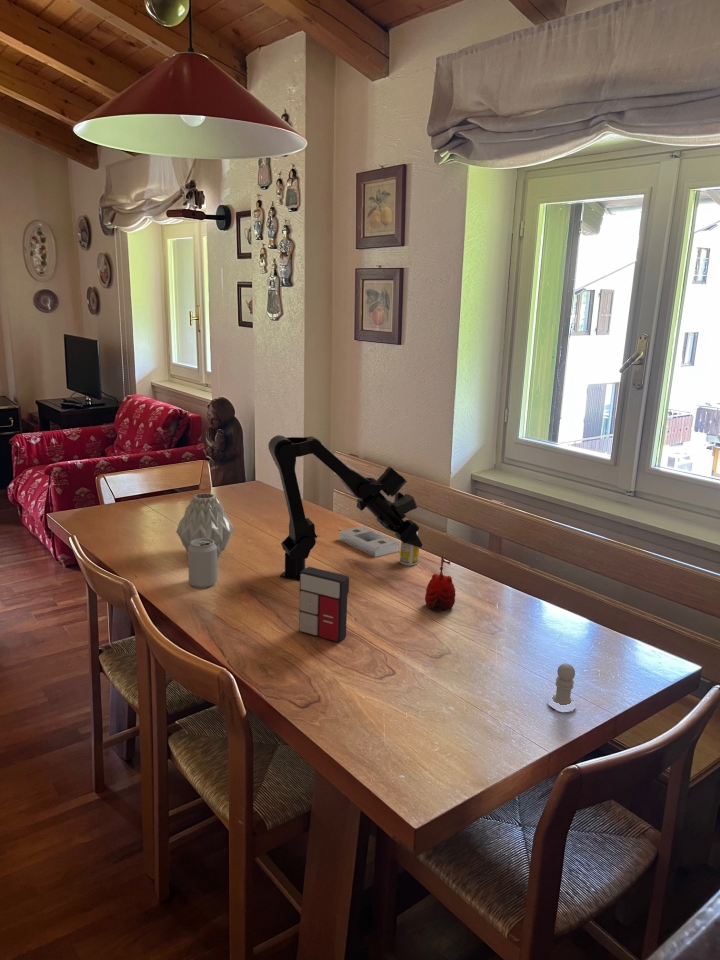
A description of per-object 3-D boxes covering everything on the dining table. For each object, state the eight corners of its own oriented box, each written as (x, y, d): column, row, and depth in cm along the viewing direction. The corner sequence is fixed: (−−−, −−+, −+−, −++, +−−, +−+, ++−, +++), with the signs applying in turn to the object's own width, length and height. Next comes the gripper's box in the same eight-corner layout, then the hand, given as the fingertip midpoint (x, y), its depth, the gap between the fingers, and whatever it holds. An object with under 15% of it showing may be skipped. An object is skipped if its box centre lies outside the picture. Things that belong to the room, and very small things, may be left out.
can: (201, 591, 184) (200, 548, 181) (183, 584, 189) (181, 541, 186) (223, 583, 190) (222, 541, 187) (204, 576, 194) (203, 534, 191)
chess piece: (570, 698, 141) (575, 658, 139) (579, 714, 136) (584, 672, 133) (544, 698, 141) (548, 657, 138) (551, 714, 135) (556, 671, 133)
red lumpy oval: (456, 604, 182) (460, 549, 178) (452, 615, 176) (456, 558, 172) (426, 599, 184) (430, 545, 180) (421, 611, 178) (425, 554, 174)
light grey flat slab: (399, 551, 218) (399, 541, 217) (375, 557, 212) (375, 547, 212) (362, 534, 232) (362, 525, 231) (339, 540, 226) (339, 530, 225)
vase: (239, 548, 216) (239, 489, 211) (224, 568, 200) (223, 505, 196) (187, 544, 217) (186, 486, 213) (168, 564, 202) (166, 501, 197)
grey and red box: (297, 632, 164) (297, 572, 160) (306, 625, 168) (307, 566, 164) (338, 644, 159) (340, 582, 155) (347, 636, 163) (349, 576, 159)
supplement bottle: (401, 566, 206) (403, 534, 204) (398, 559, 212) (400, 528, 209) (419, 565, 207) (421, 534, 204) (416, 559, 212) (418, 528, 210)
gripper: (414, 496, 193) (447, 531, 200) (388, 479, 210) (419, 511, 217) (386, 525, 193) (421, 559, 199) (362, 506, 210) (395, 538, 216)
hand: (414, 541), depth 208 cm, fingers open, 9 cm apart
